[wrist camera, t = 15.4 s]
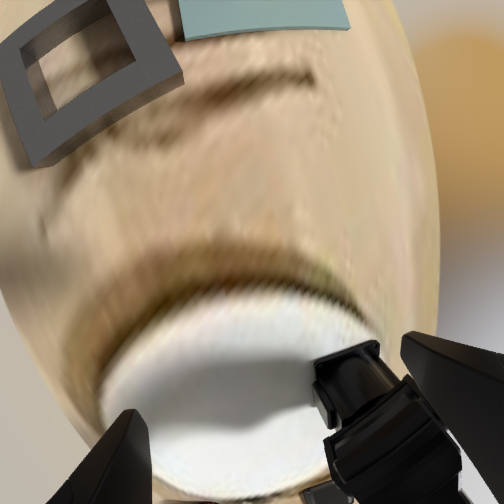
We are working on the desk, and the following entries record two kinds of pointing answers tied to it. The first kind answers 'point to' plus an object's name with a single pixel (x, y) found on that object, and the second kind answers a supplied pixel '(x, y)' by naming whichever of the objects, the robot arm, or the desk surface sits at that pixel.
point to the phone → (326, 494)
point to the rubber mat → (259, 16)
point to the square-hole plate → (94, 99)
